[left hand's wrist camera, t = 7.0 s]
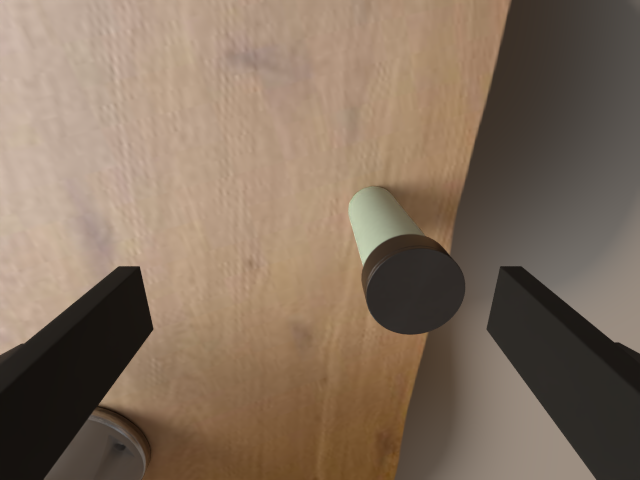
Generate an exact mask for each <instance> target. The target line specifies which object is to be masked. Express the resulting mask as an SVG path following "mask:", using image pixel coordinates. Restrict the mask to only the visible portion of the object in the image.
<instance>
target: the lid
mask: <svg viewBox="0 0 640 480" xmlns="http://www.w3.org/2000/svg"><path fill="white" fill-rule="evenodd" d="M362 286H363V290H364V294H365V298H366V302H367V306H368V309H369V311H370V313H371V315H372V316H373V318H374V319H375V320H376V321H377V322H378V323H379V324H380V325H381V326H383V327H385V328H386V329H388V330H390V331H393V332H396V333H400V334H409V335H411V334H421V333H425V332H429V331H432V330H434V329H436V328H438V327H440V326H442V325H443V324H445V323H446V322H447V321H448V320H450V319H451V318H452V317H453V316H454V314H455V313H456V312H457V311H458V309H459V307H460V305H461V303H462V301H463V298H464V294H465V280H464V276H463V273H462V271H461V269H460V267H459V266H458V265H457V263H456V262H455V261H454V260H453V259H452V257H451V256H450V255H449V254H448V253H447V252H446V251H445V249H444V248H443V247H442V246H441V245H440V244H439V243H437V242H436V241H435V240H433V239H431V238H429V237H426V236H423V235H418V234H404V235H399V236H395V237H392V238H390V239H388V240H386V241H384V242H382V243H381V244H380V245H378V246H377V247H376V248H375V249H374V250H373V251H372V252H371V253H370V254H369V256H368V258H367V259H366V261H365V263H364V266H363V269H362Z"/></svg>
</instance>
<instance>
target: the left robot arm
mask: <svg viewBox="0 0 640 480" xmlns="http://www.w3.org/2000/svg"><path fill="white" fill-rule="evenodd" d="M152 331H153V325H152V320H151V316H150V311H149V307H148V302H147V297H146V293H145V288H144V284H143V279H142V275H141V270H140V266H119V267H117V268H116V269H115V270H114V271H112V272H111V273H110V274H109V275H108V276H106V277H105V278H104V279H103V280H101V281H100V282H99V283H98V284H97V285H95V286H94V287H93V288H92V289H91V290H89V291H88V292H87V293H86V294H84V295H83V296H82V297H81V298H80V299H78V300H77V301H76V302H75V303H73V304H72V305H71V306H70V307H69V308H67V309H66V310H65V311H64V312H62V313H61V314H60V315H59V316H58V317H56V318H55V319H54V320H53V321H51V322H50V323H49V324H48V325H47V326H45V327H44V328H43V329H42V330H40V331H39V332H38V333H37V334H36V335H34V336H33V337H32V338H31V339H29V340H28V341H27V342H26V343H25V344H20V345H18V346H16V347H15V348H13V349H11V350H9V351H7V352H5V353H4V354H2V355H0V480H142V478H143V476H144V473H145V471H146V469H147V467H148V465H149V462H150V458H151V452H150V447H149V444H148V441H147V439H146V438H145V436H144V435H143V433H142V432H141V431H140V430H139V429H138V428H137V427H136V426H135V425H134V424H133V423H132V422H130V421H129V420H127V419H126V418H124V417H122V416H121V415H119V414H117V413H114V412H112V411H109V410H107V409H103V408H100V407H97V406H98V404H99V403H100V402H101V400H102V399H103V398H104V396H105V395H106V394H107V392H108V391H109V389H110V388H111V387H112V385H113V384H114V383H115V381H116V380H117V378H118V377H119V376H120V374H121V373H122V372H123V370H124V369H125V368H126V366H127V365H128V363H129V362H130V361H131V359H132V358H133V357H134V355H135V354H136V353H137V351H138V350H139V348H140V347H141V346H142V344H143V343H144V342H145V340H146V339H147V337H148V336H149V335H150V333H151V332H152ZM487 331H488V332H489V333H490V335H491V336H492V337H493V339H494V340H495V342H496V343H497V344H498V346H499V347H500V348H501V350H502V351H503V353H504V354H505V355H506V356H507V358H508V359H509V361H510V362H511V363H512V365H513V366H514V368H515V369H516V370H517V372H518V373H519V374H520V376H521V377H522V378H523V380H524V381H525V383H526V384H527V385H528V387H529V388H530V389H531V391H532V392H533V393H534V395H535V396H536V398H537V399H538V400H539V402H540V403H541V404H542V406H543V407H544V409H545V410H546V411H547V413H548V414H549V415H550V417H551V418H552V419H553V421H554V422H555V424H556V425H557V426H558V428H559V429H560V430H561V432H562V433H563V434H564V436H565V437H566V439H567V440H568V441H569V443H570V444H571V445H572V447H573V448H574V450H575V451H576V452H577V454H578V455H579V456H580V458H581V459H582V460H583V462H584V463H585V465H586V466H587V467H588V469H589V470H590V471H591V473H592V474H593V476H594V477H595V478H596V480H640V354H639V353H637V352H636V351H634V350H632V349H630V348H628V347H626V346H624V345H623V344H621V343H614V342H613V341H612V340H611V339H609V338H608V337H607V336H606V335H604V334H603V333H602V332H601V331H600V330H598V329H597V328H596V327H595V326H593V325H592V324H591V323H590V322H589V321H587V320H586V319H585V318H584V317H582V316H581V315H580V314H579V313H578V312H576V311H575V310H574V309H573V308H571V307H570V306H569V305H568V304H567V303H565V302H564V301H563V300H562V299H560V298H559V297H558V296H557V295H556V294H554V293H553V292H552V291H551V290H549V289H548V288H547V287H546V286H545V285H543V284H542V283H541V282H540V281H539V280H537V279H536V278H535V277H534V276H532V275H531V274H530V273H529V272H527V271H526V270H525V269H524V268H523V267H521V266H501V267H500V270H499V275H498V279H497V284H496V288H495V293H494V298H493V302H492V307H491V311H490V316H489V320H488V325H487Z"/></svg>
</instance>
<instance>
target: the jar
mask: <svg viewBox="0 0 640 480" xmlns="http://www.w3.org/2000/svg"><path fill="white" fill-rule="evenodd" d="M348 213H349V218H350V221H351V225H352V228H353V232H354V235H355V239H356V243H357V246H358V250H359V253H360V257H361V260H362V264H363V266H364V263H365V261H366V259H367V258H368V256H369V254H370V253H371V252H372V251H373V250H374V249H375V248H376V247H377V246H378V245H380V244H381V243H382V242H384V241H386V240H388V239H390V238H392V237H395V236H399V235H404V234H418V235H423V236H425V235H424V234H423V232H422V231H421V230H420V229H419V227H418V226H417V225H416V224H415V223H414V221H413V220H412V219H411V218H410V216H409V215H408V214H407V213H406V211H405V210H404V209H403V208H402V207H401V205H400V204H399V203H398V202H397V200H396V199H395V198H394V197H393V195H392V194H391V193H390V192H389V191H387V190H386V189H384V188H381V187H376V186H371V187H366V188H364V189H362V190H360V191H359V192H357V193H356V194H355V195H354V196H353V198H352V199H351V201H350V204H349V209H348Z"/></svg>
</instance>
